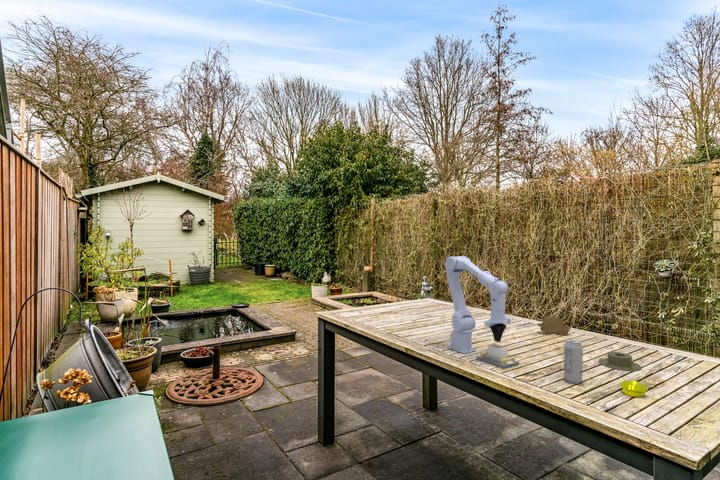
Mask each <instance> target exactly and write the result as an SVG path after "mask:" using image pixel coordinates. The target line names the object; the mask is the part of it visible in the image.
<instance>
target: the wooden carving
mask: <svg viewBox="0 0 720 480" xmlns="http://www.w3.org/2000/svg"><path fill="white" fill-rule="evenodd" d="M541 319H542V320H541V321H542V323H539V322H538V323H537V326H538V327H540V328H539V329H540V331H541V332H543V333H545V334H547V335H550V334H558V335H562V334H563V335H568V334H569V331H570V330H571V329H572V328H571V326H570V325H568V324H565V321H564V319H563V318H562V317H561V318H560V317H558V316H554V315H553V316H552V315H550V316H546V317H543V318H541Z"/></svg>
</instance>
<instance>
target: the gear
mask: <svg viewBox="0 0 720 480" xmlns="http://www.w3.org/2000/svg"><path fill="white" fill-rule="evenodd" d="M619 386H620V387H621V388H622V393H623V394H624V395H626V396H629V397H633V398H644V397H645V392H647V391H648V387H647V386H645V384H643V383H642V382H640V381H636V380H628V379H626V380H622V381H621V382H619Z"/></svg>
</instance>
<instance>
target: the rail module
mask: <svg viewBox="0 0 720 480" xmlns="http://www.w3.org/2000/svg"><path fill="white" fill-rule="evenodd" d="M508 349H509V348H508V347H506V346H503V345H499V344H496V343H492V344H488V345H487V352H488V357H491V358H494V359H497V360H502V359H506V358H508V357H509V355H508V354H509V352H508V351H509V350H508Z"/></svg>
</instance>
